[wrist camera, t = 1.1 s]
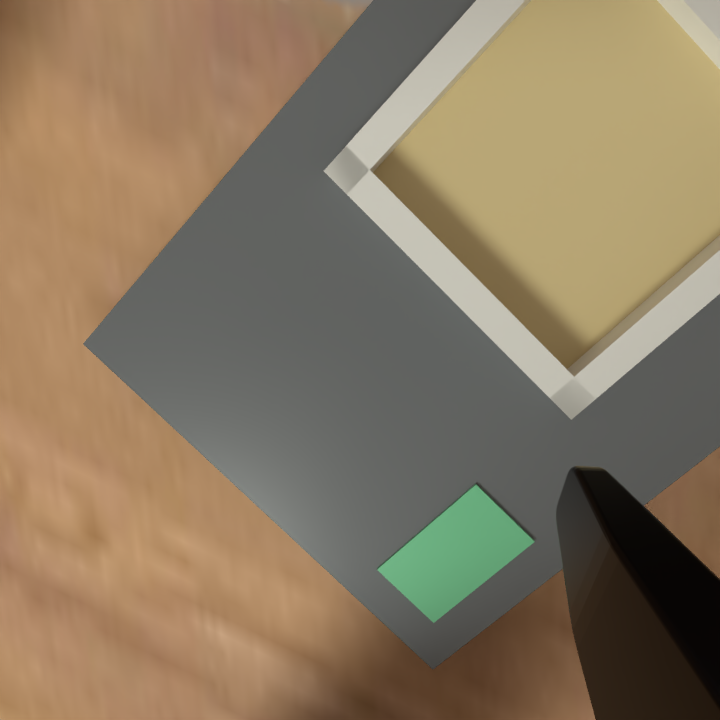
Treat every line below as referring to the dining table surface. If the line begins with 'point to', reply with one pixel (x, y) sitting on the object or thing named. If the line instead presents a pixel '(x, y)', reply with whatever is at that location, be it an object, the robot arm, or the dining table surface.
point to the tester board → (452, 295)
